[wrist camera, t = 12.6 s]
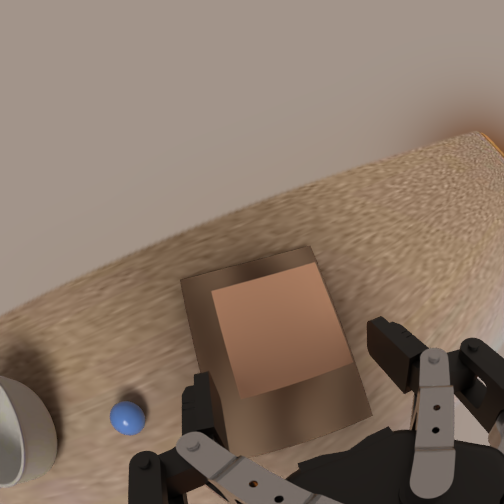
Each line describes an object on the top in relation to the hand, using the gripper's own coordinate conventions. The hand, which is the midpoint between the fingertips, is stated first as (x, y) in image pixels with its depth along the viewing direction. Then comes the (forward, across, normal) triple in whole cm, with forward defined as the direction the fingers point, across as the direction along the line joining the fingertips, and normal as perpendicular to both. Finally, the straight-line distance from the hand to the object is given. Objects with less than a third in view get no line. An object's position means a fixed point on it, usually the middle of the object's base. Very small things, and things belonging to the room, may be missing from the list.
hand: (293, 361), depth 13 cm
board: (+9, 0, +6) cm, 11 cm away
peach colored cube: (+8, 0, +5) cm, 10 cm away
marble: (+7, +13, +8) cm, 17 cm away
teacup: (+6, +27, +10) cm, 29 cm away
